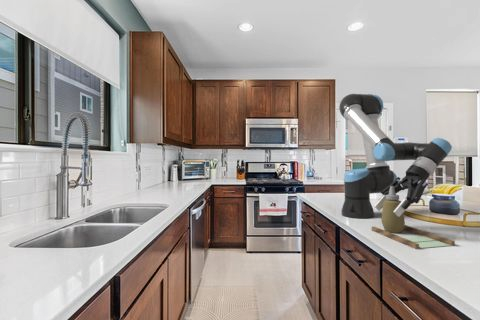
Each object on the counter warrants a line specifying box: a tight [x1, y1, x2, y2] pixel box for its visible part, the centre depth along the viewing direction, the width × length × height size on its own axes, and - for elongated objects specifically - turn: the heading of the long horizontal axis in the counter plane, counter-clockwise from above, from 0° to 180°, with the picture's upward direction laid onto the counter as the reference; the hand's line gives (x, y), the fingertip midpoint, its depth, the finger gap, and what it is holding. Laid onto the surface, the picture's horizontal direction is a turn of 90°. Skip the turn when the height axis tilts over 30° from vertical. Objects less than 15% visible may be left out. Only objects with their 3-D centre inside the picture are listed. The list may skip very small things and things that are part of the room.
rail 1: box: [371, 226, 420, 250], centre depth 94 cm, size 22×1×2 cm, turn 8°
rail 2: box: [403, 224, 456, 247], centre depth 96 cm, size 22×1×2 cm, turn 8°
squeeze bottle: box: [381, 186, 406, 234], centre depth 103 cm, size 8×8×18 cm
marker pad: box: [404, 235, 451, 249], centre depth 89 cm, size 10×11×1 cm
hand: (386, 211), depth 103 cm, fingers open, 10 cm apart
